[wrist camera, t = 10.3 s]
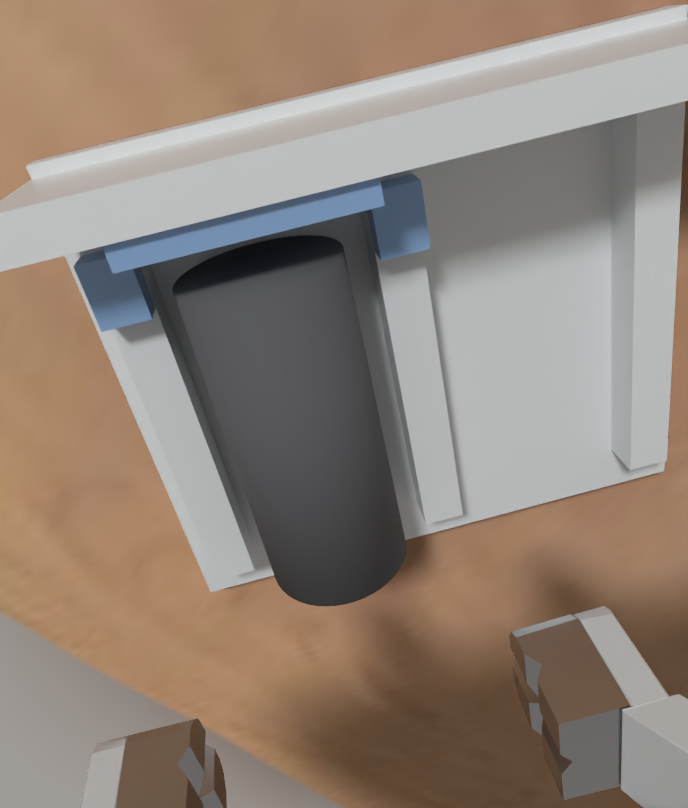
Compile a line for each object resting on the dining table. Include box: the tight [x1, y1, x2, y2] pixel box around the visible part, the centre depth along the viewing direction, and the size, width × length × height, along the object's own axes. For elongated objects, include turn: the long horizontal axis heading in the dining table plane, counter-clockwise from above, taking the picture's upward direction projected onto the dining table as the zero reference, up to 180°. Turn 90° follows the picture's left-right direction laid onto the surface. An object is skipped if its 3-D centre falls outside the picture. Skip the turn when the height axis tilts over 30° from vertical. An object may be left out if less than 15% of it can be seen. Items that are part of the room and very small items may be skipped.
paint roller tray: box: [0, 4, 688, 592], centre depth 17 cm, size 14×16×5 cm
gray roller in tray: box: [172, 235, 406, 606], centre depth 17 cm, size 9×4×4 cm, turn 12°
